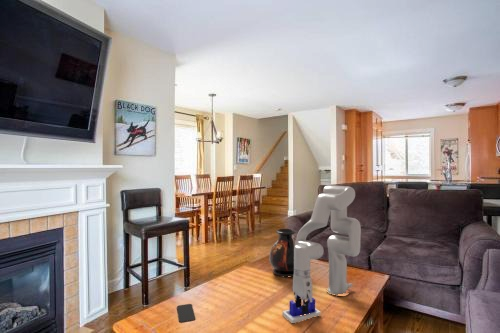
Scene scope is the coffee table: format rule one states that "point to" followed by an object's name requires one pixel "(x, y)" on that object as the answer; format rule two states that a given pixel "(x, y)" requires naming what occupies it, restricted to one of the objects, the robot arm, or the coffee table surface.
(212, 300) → the coffee table surface
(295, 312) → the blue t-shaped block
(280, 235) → the amphora vase
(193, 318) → the phone
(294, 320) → the tray
